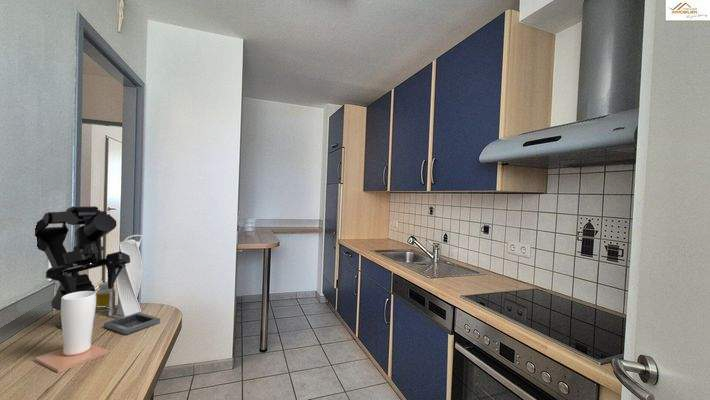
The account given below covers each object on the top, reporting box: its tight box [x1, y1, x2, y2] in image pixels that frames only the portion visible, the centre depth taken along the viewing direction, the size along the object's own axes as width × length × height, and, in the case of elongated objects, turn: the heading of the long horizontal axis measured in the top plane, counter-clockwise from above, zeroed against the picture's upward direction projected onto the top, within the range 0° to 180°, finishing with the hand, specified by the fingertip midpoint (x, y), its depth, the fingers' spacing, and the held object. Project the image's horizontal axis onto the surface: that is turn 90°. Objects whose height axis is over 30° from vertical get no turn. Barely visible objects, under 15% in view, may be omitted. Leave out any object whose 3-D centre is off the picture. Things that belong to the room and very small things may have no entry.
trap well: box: [103, 312, 161, 336], centre depth 96 cm, size 12×10×2 cm
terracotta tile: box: [34, 343, 109, 374], centre depth 77 cm, size 12×10×1 cm
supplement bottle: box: [95, 281, 116, 312], centre depth 109 cm, size 5×5×10 cm
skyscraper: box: [106, 234, 144, 319], centre depth 105 cm, size 8×8×28 cm
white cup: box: [61, 291, 97, 356], centre depth 78 cm, size 7×7×15 cm
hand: (91, 293), depth 87 cm, fingers open, 9 cm apart
